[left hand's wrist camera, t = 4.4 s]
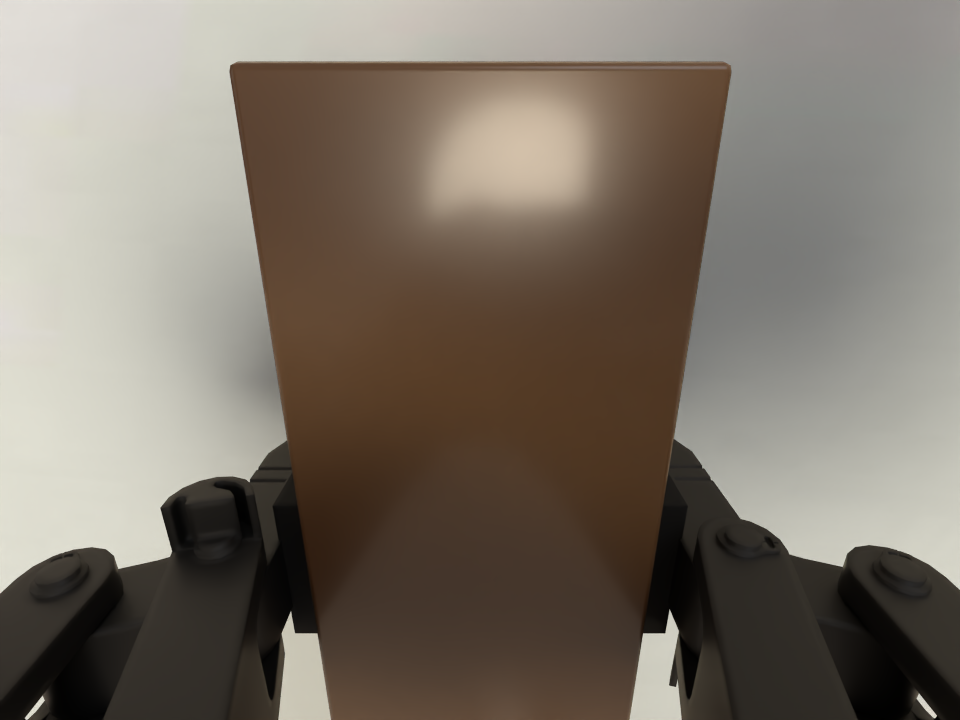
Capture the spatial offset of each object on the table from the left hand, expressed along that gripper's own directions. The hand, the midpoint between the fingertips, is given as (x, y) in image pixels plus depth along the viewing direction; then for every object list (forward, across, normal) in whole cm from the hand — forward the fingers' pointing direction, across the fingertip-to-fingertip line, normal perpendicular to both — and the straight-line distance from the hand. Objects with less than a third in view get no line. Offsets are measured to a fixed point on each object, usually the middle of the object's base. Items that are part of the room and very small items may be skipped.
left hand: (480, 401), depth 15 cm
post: (+1, 0, -32) cm, 32 cm away
